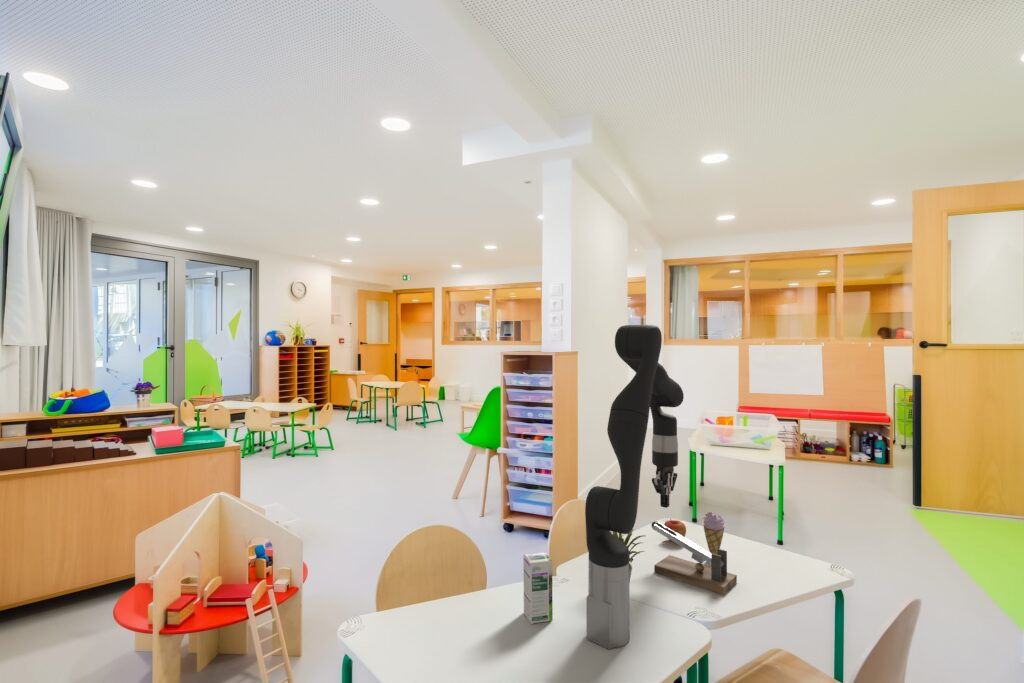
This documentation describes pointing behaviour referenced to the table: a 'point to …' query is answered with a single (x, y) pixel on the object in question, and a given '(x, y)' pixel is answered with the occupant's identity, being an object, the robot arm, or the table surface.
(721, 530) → the ice cream cone
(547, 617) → the syrup box
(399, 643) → the table surface
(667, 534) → the lever
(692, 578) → the press base
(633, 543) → the house plant
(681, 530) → the apple
